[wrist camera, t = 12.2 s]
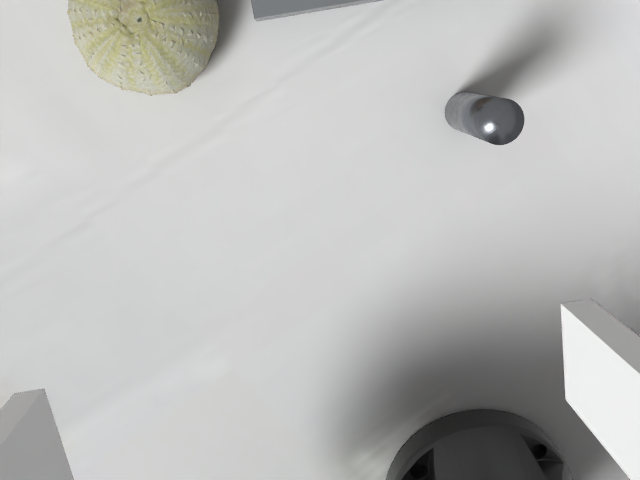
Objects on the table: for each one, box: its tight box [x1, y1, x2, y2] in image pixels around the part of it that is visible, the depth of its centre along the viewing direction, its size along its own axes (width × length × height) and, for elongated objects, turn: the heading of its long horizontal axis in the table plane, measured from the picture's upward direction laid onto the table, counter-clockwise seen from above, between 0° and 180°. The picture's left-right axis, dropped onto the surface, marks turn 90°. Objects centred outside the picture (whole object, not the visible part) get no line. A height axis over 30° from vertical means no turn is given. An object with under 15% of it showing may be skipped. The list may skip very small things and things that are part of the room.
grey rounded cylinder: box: [445, 92, 524, 145], centre depth 38 cm, size 3×3×8 cm
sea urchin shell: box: [67, 0, 220, 96], centre depth 38 cm, size 9×8×8 cm
